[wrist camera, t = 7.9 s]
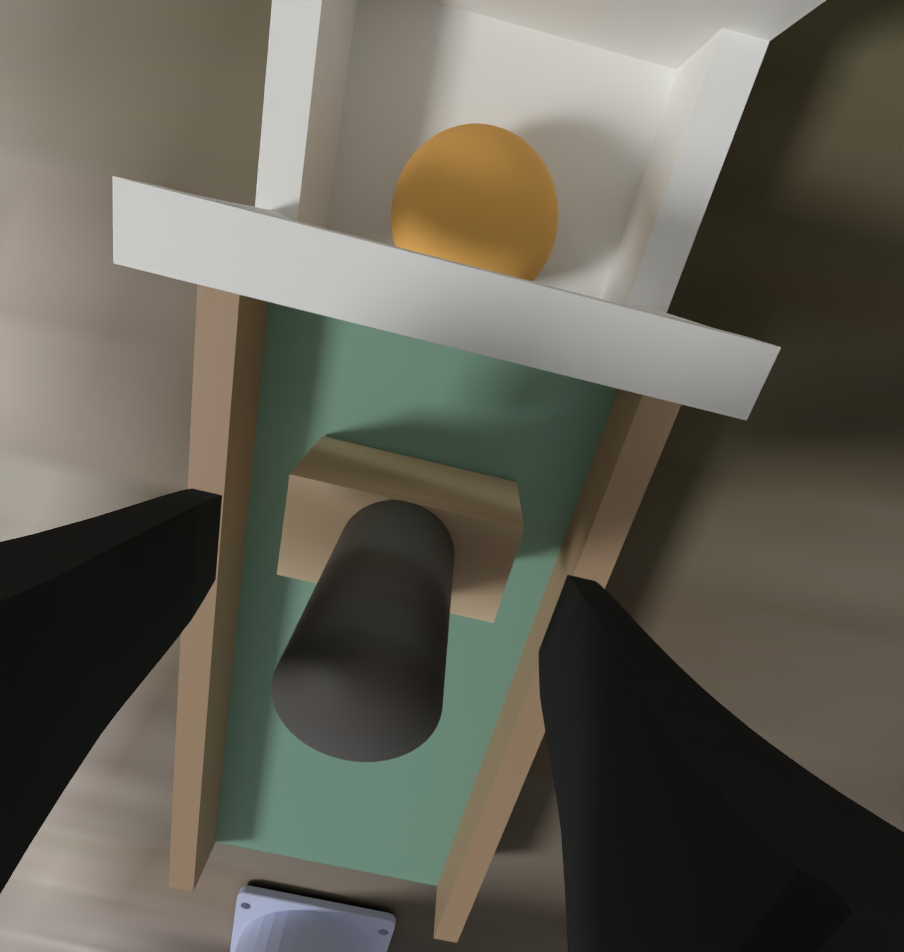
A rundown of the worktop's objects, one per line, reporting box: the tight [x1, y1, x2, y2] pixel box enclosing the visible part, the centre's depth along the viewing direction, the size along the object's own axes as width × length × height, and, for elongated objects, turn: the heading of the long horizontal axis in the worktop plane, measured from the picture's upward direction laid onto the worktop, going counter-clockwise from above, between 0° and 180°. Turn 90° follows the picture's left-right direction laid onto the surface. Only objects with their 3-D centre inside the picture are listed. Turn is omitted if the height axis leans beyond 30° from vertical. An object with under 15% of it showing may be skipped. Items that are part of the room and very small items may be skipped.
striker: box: [271, 436, 524, 762], centre depth 13 cm, size 3×6×8 cm, turn 77°
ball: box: [391, 123, 558, 281], centre depth 13 cm, size 4×4×4 cm
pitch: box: [113, 0, 826, 943], centre depth 15 cm, size 32×12×8 cm, turn 167°
